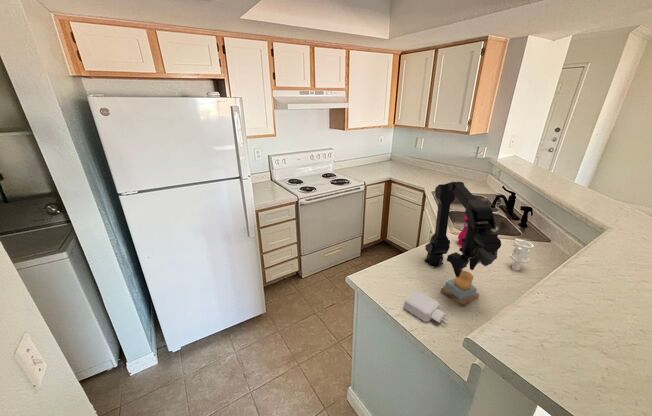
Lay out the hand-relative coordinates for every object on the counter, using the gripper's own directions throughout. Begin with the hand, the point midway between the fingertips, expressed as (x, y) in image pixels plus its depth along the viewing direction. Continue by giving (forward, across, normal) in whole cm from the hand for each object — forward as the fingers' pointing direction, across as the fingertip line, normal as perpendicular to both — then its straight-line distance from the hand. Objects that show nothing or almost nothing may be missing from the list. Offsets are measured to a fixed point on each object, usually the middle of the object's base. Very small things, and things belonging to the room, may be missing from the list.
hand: (464, 273), depth 104 cm
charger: (+12, -19, 0) cm, 22 cm away
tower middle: (+9, 0, 0) cm, 9 cm away
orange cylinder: (+6, 0, 0) cm, 6 cm away
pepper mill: (+11, +40, +24) cm, 48 cm away
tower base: (+12, 0, 0) cm, 12 cm away
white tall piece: (+11, +41, -2) cm, 43 cm away
